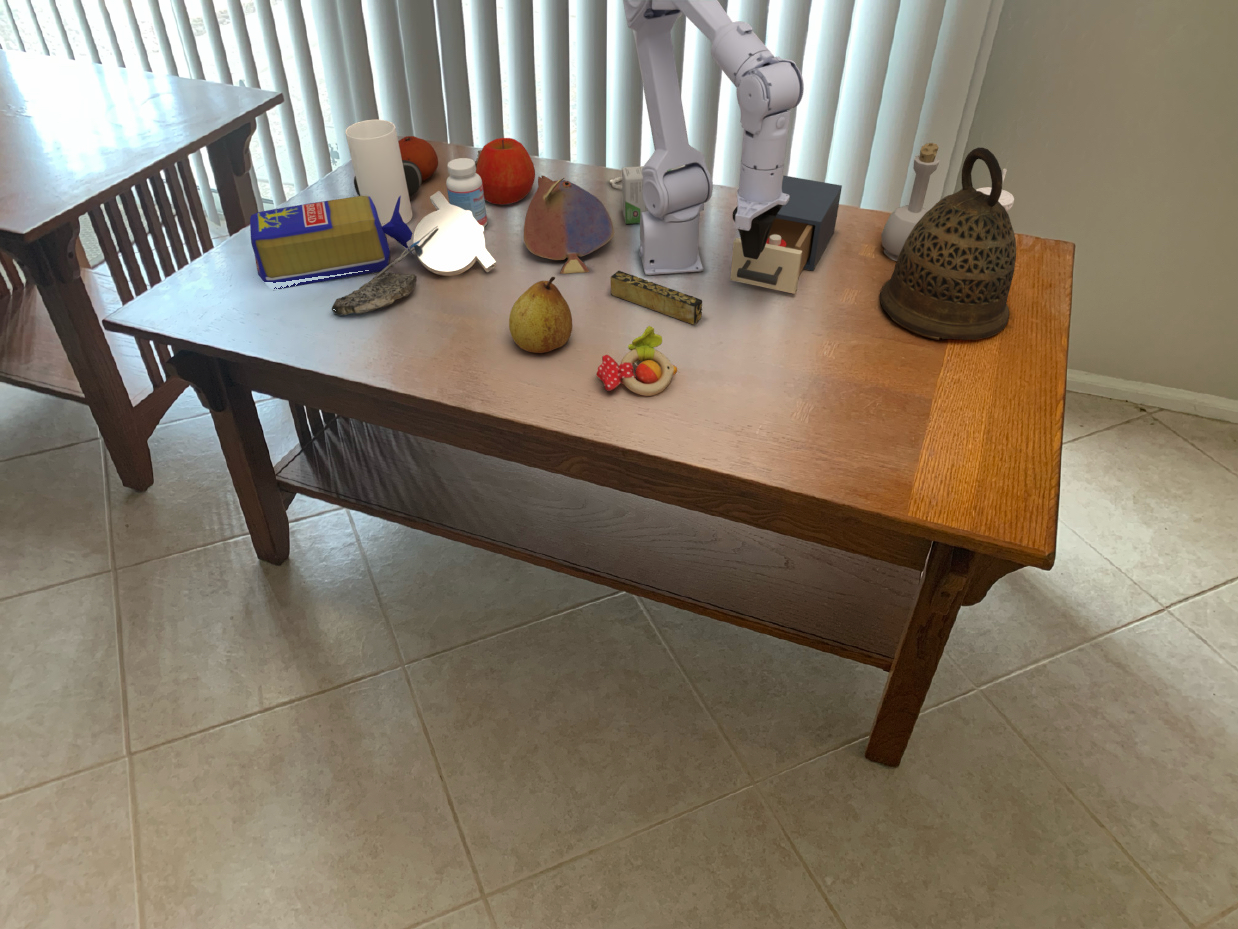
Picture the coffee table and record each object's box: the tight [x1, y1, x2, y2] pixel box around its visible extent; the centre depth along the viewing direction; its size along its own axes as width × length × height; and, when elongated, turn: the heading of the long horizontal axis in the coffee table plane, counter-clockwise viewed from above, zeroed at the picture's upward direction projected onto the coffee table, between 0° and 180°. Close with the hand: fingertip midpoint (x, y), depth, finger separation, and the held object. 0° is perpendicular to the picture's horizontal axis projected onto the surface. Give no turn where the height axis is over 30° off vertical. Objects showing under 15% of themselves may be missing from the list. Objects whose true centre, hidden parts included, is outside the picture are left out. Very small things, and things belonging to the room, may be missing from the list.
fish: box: [523, 175, 615, 275], centre depth 142 cm, size 20×12×15 cm
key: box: [609, 176, 622, 191], centre depth 161 cm, size 12×1×4 cm
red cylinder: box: [766, 235, 786, 247], centre depth 134 cm, size 4×4×5 cm
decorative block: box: [610, 270, 703, 326], centre depth 130 cm, size 15×2×4 cm, turn 55°
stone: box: [331, 271, 417, 316], centre depth 133 cm, size 14×8×3 cm, turn 143°
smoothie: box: [975, 168, 1015, 213], centre depth 137 cm, size 6×6×14 cm
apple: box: [476, 137, 536, 206], centre depth 155 cm, size 11×11×11 cm
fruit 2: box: [508, 276, 573, 354], centre depth 121 cm, size 9×9×12 cm
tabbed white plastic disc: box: [412, 190, 497, 277], centre depth 139 cm, size 15×8×11 cm
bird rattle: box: [595, 325, 678, 397], centre depth 116 cm, size 6×11×9 cm
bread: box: [249, 195, 414, 290], centre depth 138 cm, size 10×25×10 cm, turn 108°
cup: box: [345, 119, 414, 226], centre depth 149 cm, size 8×8×16 cm
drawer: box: [730, 218, 815, 295], centre depth 134 cm, size 17×10×7 cm, turn 156°
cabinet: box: [775, 174, 843, 272], centre depth 142 cm, size 14×12×9 cm
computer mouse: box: [353, 160, 423, 198], centre depth 156 cm, size 7×12×4 cm
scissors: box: [374, 226, 438, 278], centre depth 137 cm, size 14×8×1 cm
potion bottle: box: [880, 142, 940, 262], centre depth 136 cm, size 9×9×18 cm
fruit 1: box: [398, 135, 439, 182], centre depth 163 cm, size 9×9×8 cm
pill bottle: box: [445, 157, 488, 228], centre depth 148 cm, size 6×6×11 cm
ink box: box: [621, 165, 685, 225], centre depth 150 cm, size 8×5×12 cm
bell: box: [879, 146, 1017, 341], centre depth 122 cm, size 19×26×20 cm
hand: (753, 253), depth 122 cm, fingers closed
